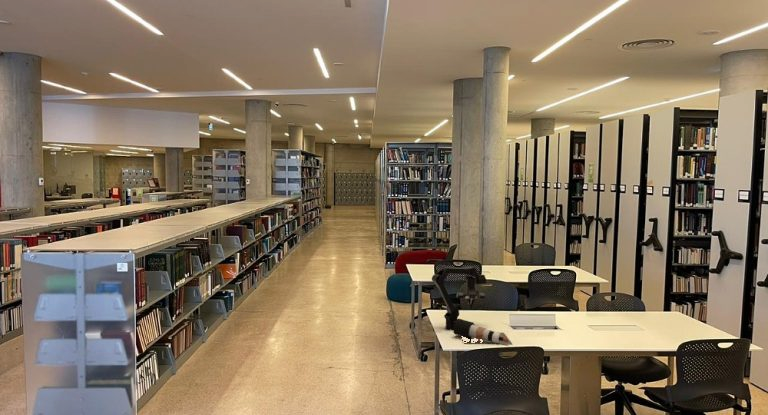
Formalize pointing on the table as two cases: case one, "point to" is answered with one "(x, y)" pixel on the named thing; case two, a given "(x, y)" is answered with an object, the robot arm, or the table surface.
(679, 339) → the table surface
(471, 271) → the robot arm
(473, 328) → the banded tapered cylinder
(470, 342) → the plate
